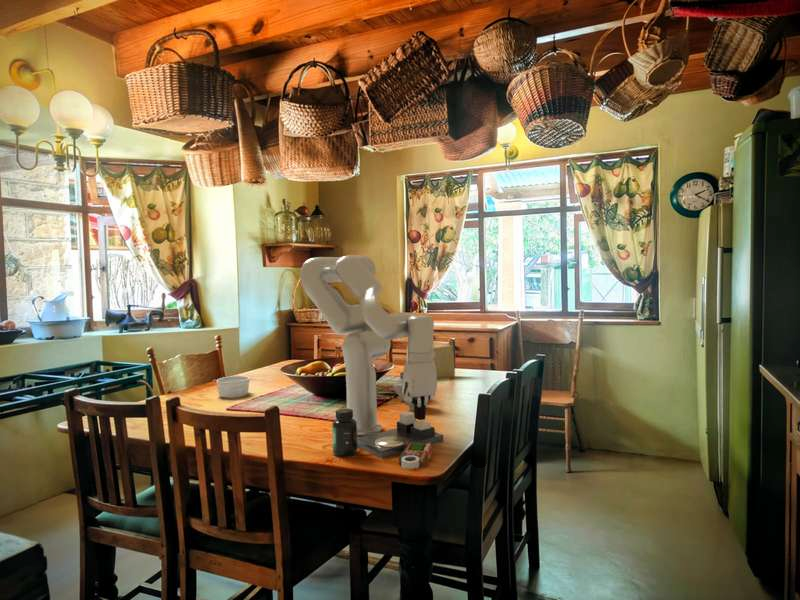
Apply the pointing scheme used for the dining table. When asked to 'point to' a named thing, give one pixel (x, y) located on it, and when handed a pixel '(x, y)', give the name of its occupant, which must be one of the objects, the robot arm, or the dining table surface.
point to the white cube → (422, 425)
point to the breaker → (407, 418)
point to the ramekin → (233, 386)
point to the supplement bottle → (344, 433)
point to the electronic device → (415, 454)
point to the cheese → (443, 361)
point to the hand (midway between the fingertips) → (419, 418)
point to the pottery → (399, 391)
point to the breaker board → (397, 439)
